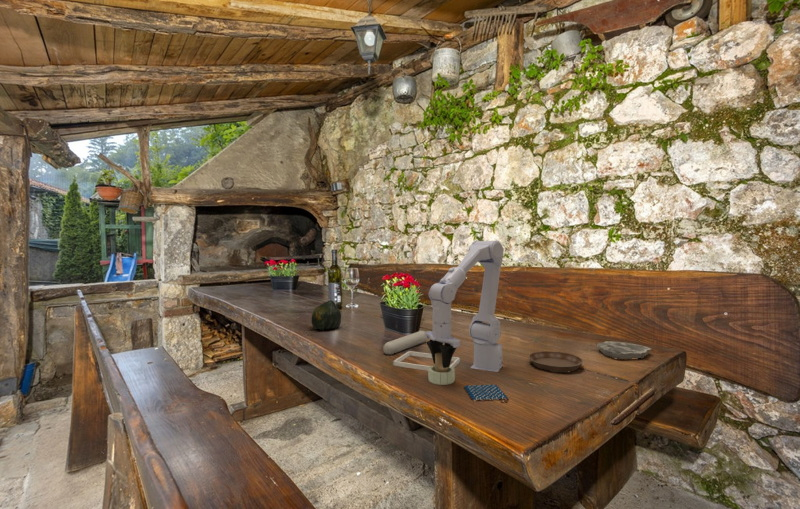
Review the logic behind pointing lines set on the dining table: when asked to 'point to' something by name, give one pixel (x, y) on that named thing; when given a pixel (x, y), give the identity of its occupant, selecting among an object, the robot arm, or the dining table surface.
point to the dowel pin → (439, 363)
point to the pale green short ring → (441, 376)
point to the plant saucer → (555, 361)
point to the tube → (404, 342)
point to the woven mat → (485, 393)
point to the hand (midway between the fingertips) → (441, 365)
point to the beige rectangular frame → (416, 366)
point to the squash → (326, 316)
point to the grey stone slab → (623, 350)
